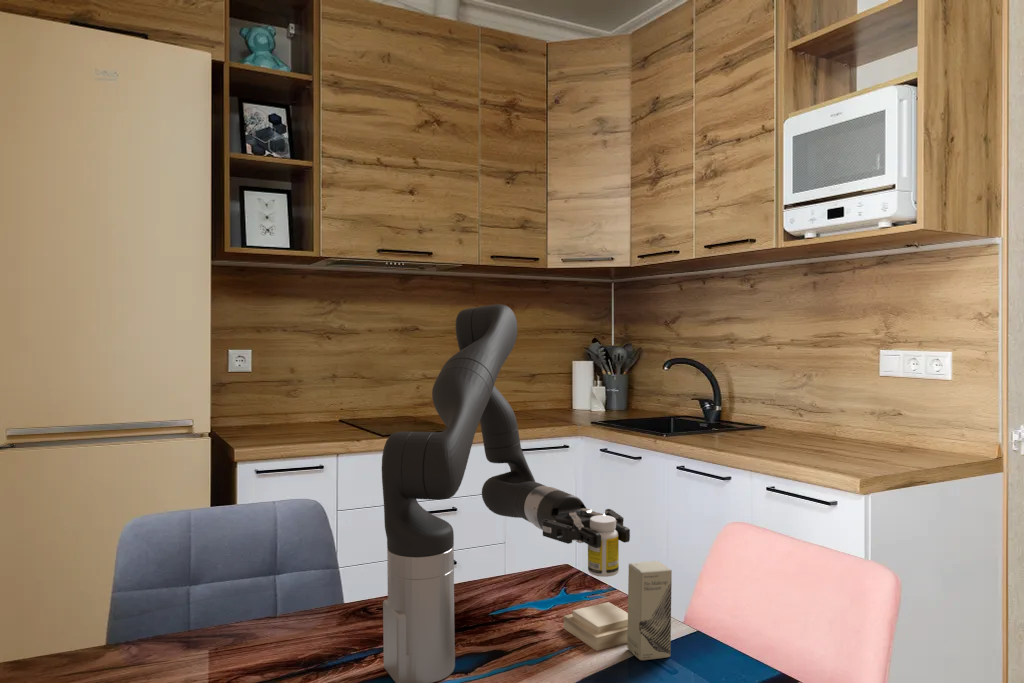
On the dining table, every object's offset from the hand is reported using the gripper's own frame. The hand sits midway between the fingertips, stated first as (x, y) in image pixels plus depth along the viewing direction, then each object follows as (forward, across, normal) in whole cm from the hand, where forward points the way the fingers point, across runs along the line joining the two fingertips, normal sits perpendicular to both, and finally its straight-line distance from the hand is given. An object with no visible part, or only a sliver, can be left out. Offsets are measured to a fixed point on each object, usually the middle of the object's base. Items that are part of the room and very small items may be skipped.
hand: (613, 538), depth 108 cm
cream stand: (-2, 0, +16) cm, 16 cm away
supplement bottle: (-3, 0, +6) cm, 7 cm away
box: (+6, +2, +16) cm, 17 cm away
